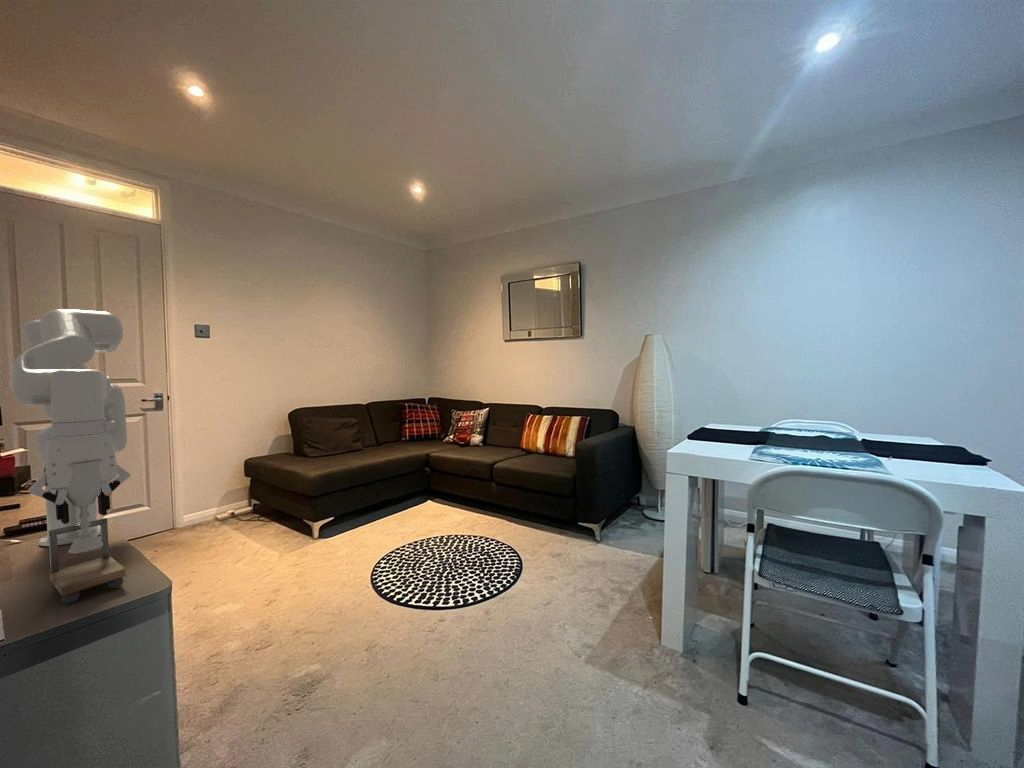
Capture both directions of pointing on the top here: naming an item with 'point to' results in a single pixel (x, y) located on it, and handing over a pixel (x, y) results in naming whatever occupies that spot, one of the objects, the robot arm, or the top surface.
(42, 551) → the top surface
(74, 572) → the cart
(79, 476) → the chalice
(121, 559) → the top surface
